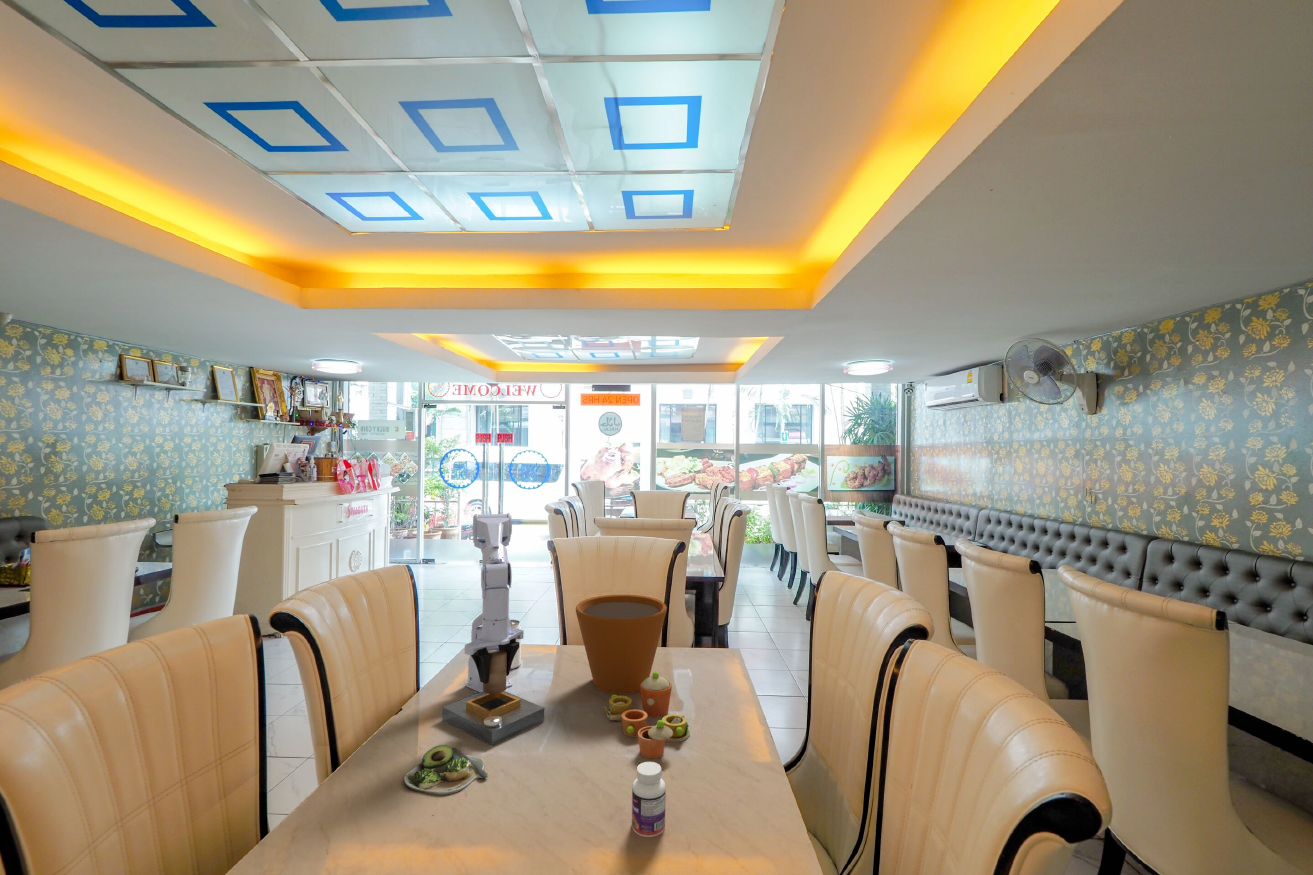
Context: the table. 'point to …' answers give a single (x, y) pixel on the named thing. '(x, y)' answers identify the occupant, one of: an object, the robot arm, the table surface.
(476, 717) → the gray peg socket base
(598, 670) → the flower pot
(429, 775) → the salad plate
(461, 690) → the table surface
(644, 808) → the pill bottle
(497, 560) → the robot arm
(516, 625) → the can
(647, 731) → the toy tea set
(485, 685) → the walnut peg
